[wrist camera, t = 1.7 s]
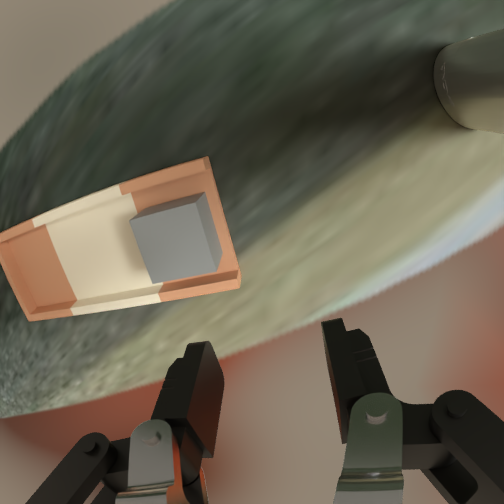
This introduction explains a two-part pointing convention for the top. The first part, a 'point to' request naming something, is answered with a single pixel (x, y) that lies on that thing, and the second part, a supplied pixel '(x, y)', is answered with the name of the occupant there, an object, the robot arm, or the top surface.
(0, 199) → the top surface
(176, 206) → the slate block
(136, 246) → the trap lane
